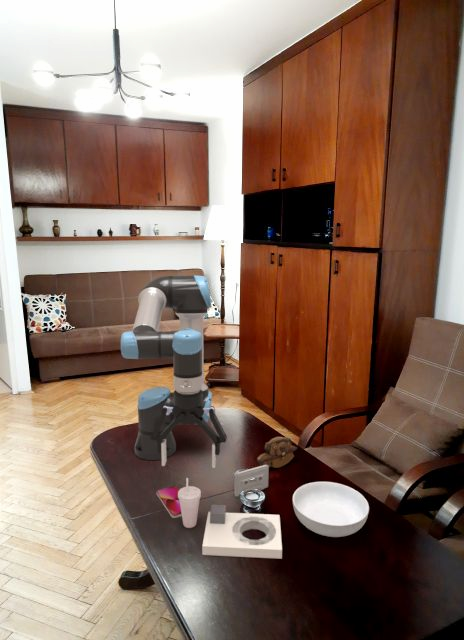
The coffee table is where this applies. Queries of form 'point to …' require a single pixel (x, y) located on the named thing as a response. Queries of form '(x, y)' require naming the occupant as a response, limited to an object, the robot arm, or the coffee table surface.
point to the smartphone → (170, 500)
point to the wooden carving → (277, 452)
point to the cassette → (257, 483)
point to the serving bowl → (330, 508)
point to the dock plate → (228, 538)
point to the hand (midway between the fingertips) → (189, 464)
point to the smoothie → (189, 504)
